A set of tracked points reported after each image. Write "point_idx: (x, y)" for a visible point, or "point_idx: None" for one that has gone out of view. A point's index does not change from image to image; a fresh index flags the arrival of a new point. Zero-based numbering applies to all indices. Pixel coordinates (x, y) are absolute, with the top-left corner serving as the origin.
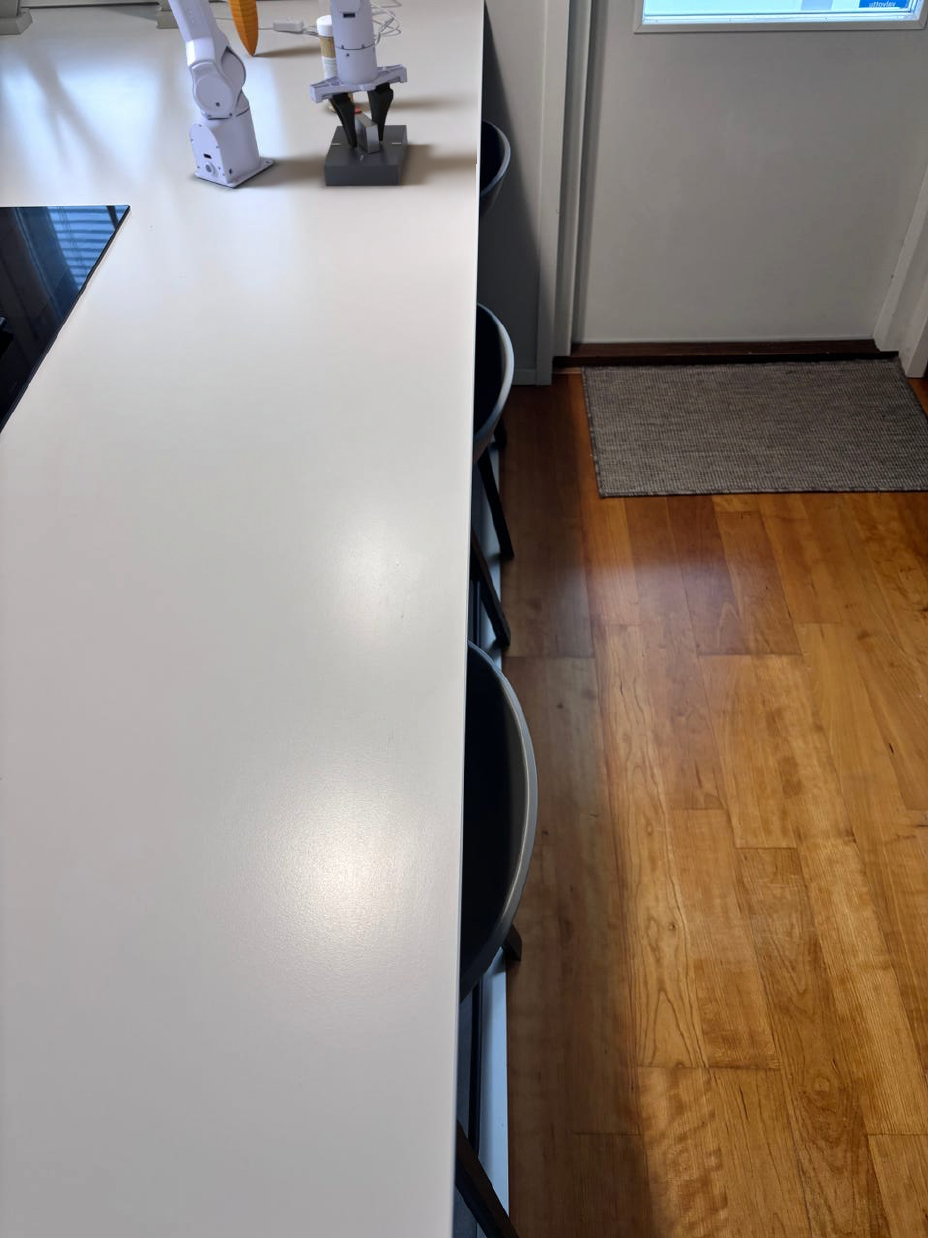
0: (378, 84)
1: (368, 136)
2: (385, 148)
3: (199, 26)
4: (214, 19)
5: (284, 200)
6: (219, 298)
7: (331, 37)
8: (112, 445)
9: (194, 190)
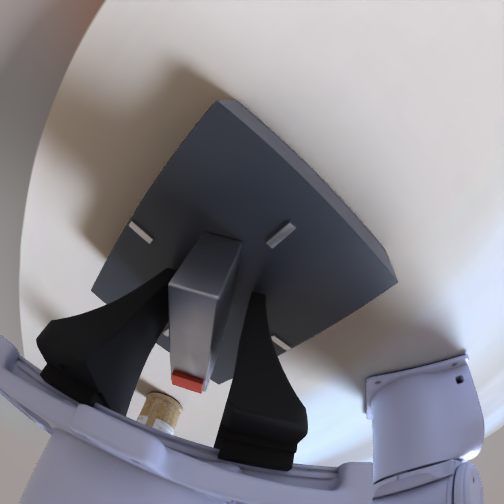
0: (64, 403)
1: (224, 272)
2: (180, 232)
3: None
4: None
5: (478, 264)
6: None
7: None
8: None
9: (482, 372)
